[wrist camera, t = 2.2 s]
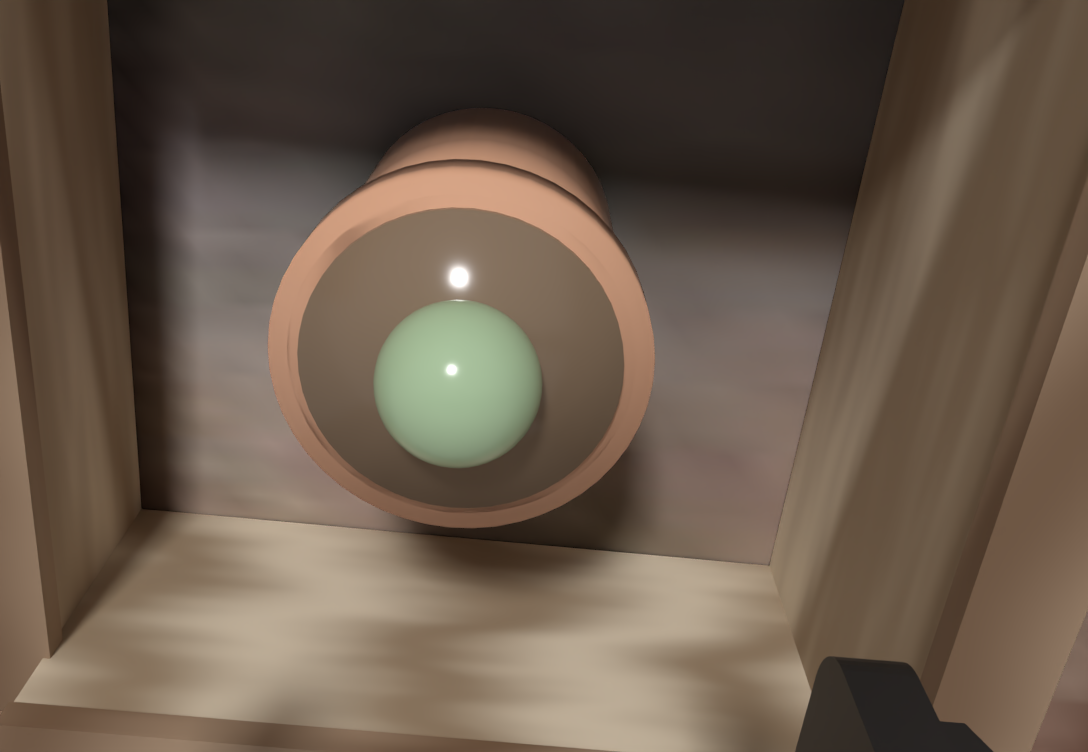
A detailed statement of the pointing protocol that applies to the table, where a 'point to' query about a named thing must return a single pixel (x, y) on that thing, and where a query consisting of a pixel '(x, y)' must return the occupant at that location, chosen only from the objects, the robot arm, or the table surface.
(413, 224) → the seedling pot
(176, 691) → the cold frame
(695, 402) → the table surface
